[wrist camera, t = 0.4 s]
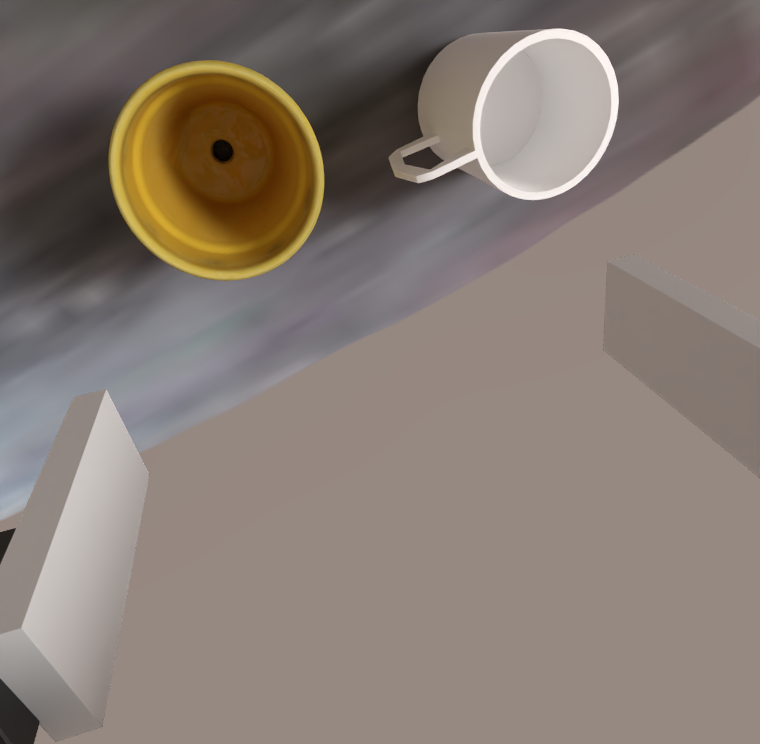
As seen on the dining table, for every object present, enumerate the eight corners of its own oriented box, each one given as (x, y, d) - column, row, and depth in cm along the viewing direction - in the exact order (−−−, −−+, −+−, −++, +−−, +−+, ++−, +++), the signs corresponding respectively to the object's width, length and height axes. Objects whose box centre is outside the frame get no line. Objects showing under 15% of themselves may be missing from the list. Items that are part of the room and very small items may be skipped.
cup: (345, 93, 36) (381, 107, 28) (516, 10, 36) (605, -2, 28) (392, 210, 41) (435, 254, 32) (544, 137, 40) (628, 160, 32)
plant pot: (96, 128, 34) (53, 154, 26) (233, 18, 33) (234, 8, 25) (215, 261, 39) (211, 318, 31) (336, 171, 38) (365, 205, 30)
